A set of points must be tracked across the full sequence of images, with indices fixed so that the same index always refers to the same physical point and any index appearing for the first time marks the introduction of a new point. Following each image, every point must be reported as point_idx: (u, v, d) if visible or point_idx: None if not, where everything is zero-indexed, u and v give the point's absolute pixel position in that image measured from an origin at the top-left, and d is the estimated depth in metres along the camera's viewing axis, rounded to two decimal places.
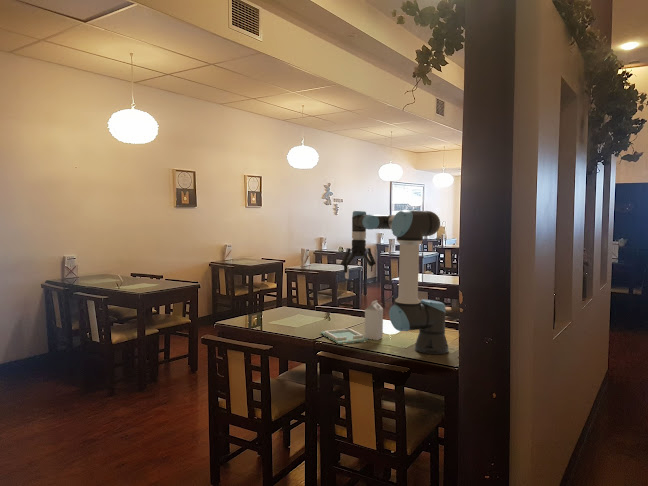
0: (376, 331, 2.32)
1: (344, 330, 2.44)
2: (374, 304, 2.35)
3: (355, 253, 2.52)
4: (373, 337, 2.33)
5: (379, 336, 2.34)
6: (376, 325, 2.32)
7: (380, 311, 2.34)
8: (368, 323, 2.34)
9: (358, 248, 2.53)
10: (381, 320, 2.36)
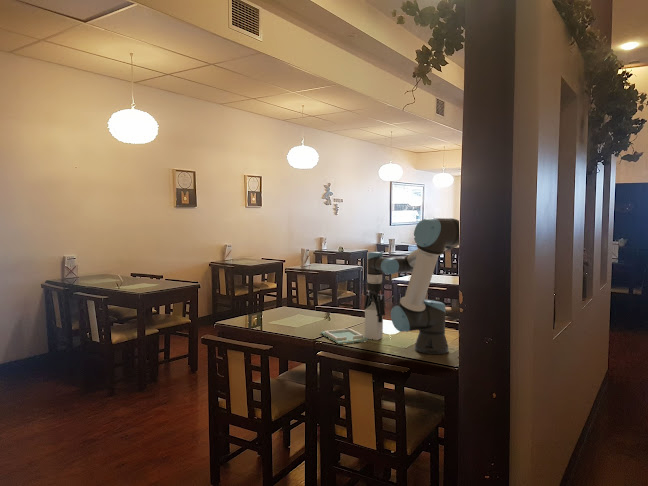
0: (376, 331, 2.32)
1: (344, 330, 2.44)
2: (374, 304, 2.35)
3: (368, 297, 2.37)
4: (373, 337, 2.33)
5: (379, 336, 2.34)
6: None
7: None
8: (368, 323, 2.34)
9: (371, 292, 2.36)
10: None
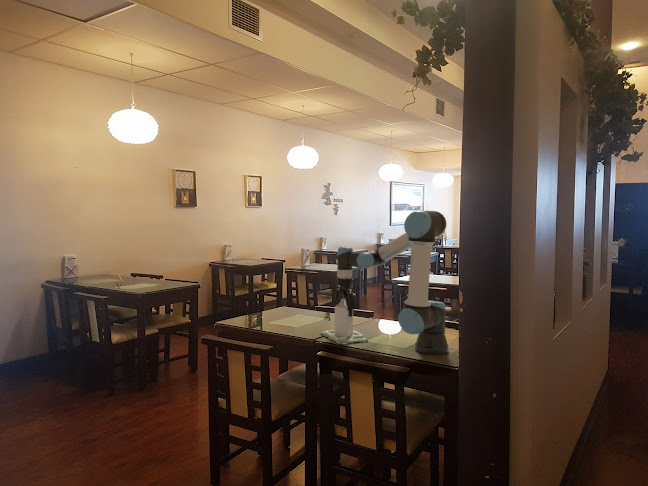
0: (345, 328, 2.32)
1: None
2: (344, 301, 2.34)
3: (339, 292, 2.37)
4: (343, 334, 2.33)
5: (349, 333, 2.34)
6: (346, 322, 2.32)
7: None
8: (338, 321, 2.33)
9: (341, 287, 2.35)
10: None
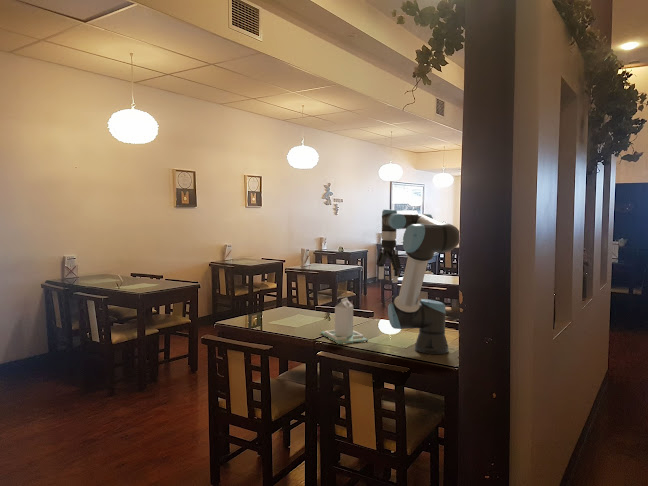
0: (345, 328, 2.32)
1: None
2: (344, 301, 2.34)
3: (382, 253, 2.41)
4: (343, 334, 2.33)
5: (349, 333, 2.34)
6: (346, 322, 2.32)
7: (350, 308, 2.34)
8: (338, 321, 2.34)
9: (386, 249, 2.40)
10: (351, 317, 2.36)
